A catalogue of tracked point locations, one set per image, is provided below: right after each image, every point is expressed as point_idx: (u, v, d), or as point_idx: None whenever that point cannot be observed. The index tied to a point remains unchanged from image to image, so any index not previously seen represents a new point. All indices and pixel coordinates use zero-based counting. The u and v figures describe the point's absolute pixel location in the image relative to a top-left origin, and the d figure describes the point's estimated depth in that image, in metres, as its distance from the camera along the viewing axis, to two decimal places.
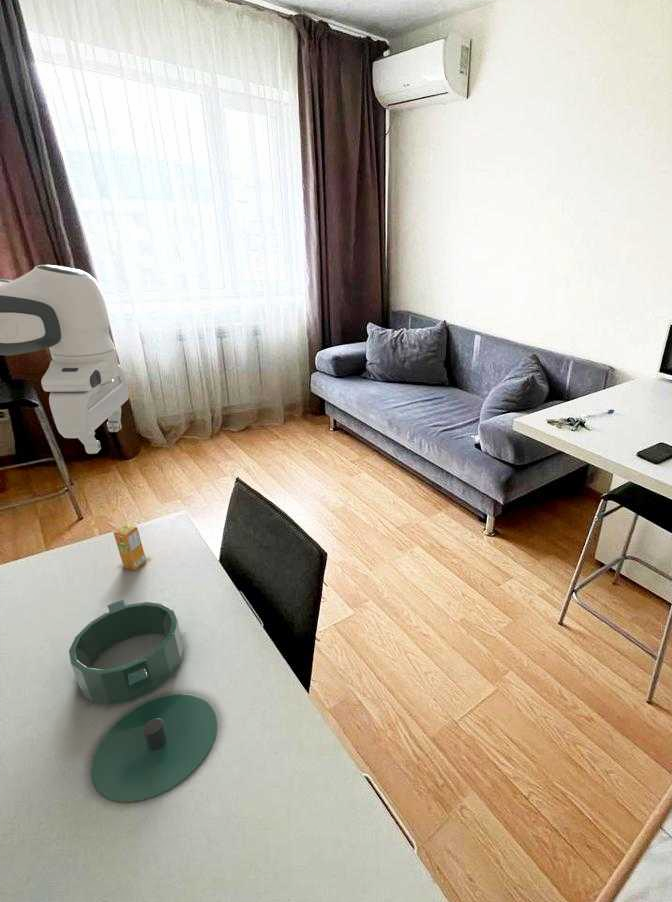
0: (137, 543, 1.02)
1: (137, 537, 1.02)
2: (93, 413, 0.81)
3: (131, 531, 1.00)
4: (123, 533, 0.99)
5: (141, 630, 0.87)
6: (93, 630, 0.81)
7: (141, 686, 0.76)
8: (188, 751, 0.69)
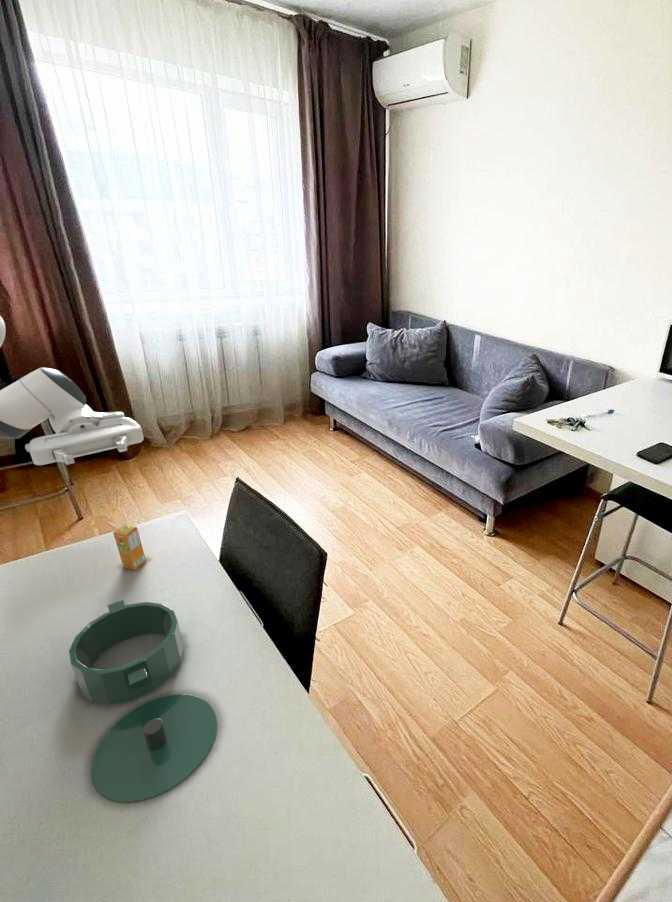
0: (137, 543, 1.02)
1: (137, 537, 1.02)
2: None
3: (130, 531, 1.00)
4: (123, 533, 0.99)
5: (141, 630, 0.87)
6: (93, 630, 0.81)
7: (141, 686, 0.76)
8: (188, 751, 0.69)
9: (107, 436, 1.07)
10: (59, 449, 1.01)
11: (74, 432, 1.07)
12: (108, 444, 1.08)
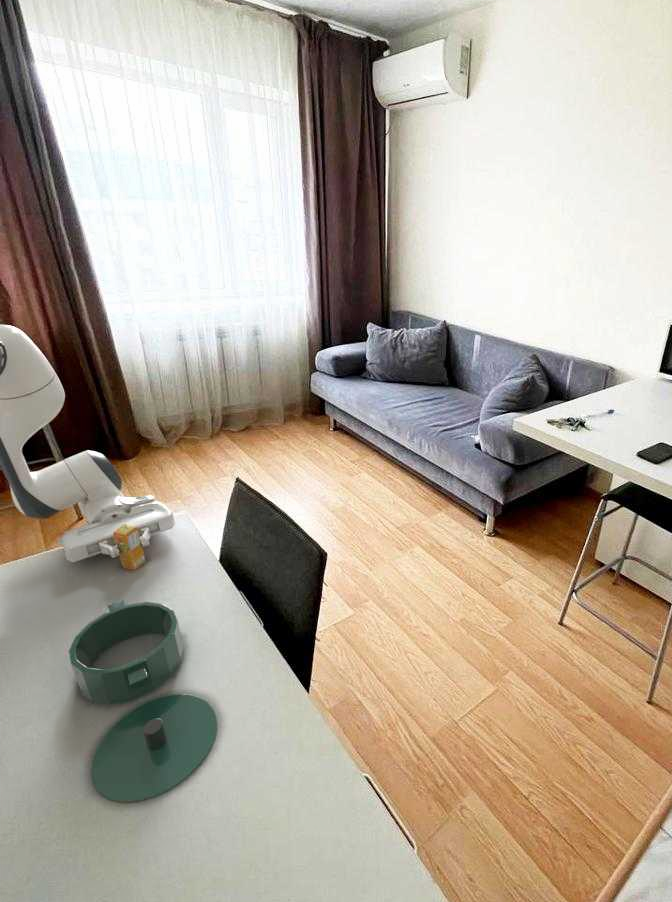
0: (137, 543, 1.02)
1: (137, 537, 1.02)
2: None
3: (130, 531, 1.00)
4: (123, 533, 0.99)
5: (141, 630, 0.87)
6: (93, 630, 0.81)
7: (141, 686, 0.76)
8: (188, 751, 0.69)
9: (140, 526, 1.06)
10: (104, 541, 1.02)
11: (106, 522, 1.06)
12: (140, 533, 1.07)
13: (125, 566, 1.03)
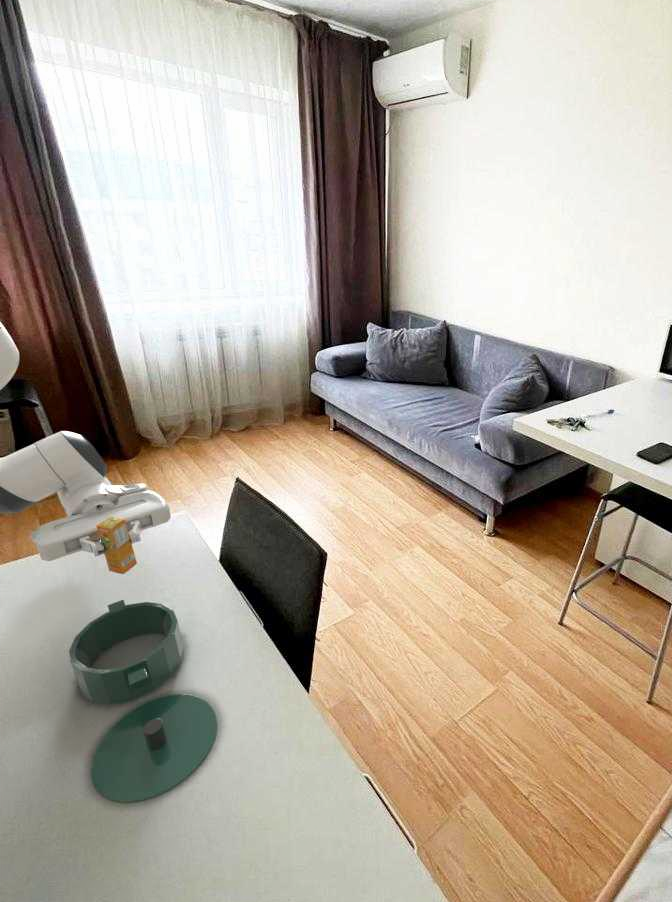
0: (125, 539, 0.85)
1: (125, 531, 0.85)
2: None
3: (117, 524, 0.83)
4: (108, 527, 0.83)
5: (141, 630, 0.87)
6: (93, 630, 0.81)
7: (141, 686, 0.76)
8: (188, 751, 0.69)
9: (129, 519, 0.90)
10: (86, 536, 0.85)
11: (88, 514, 0.90)
12: None
13: (111, 566, 0.86)
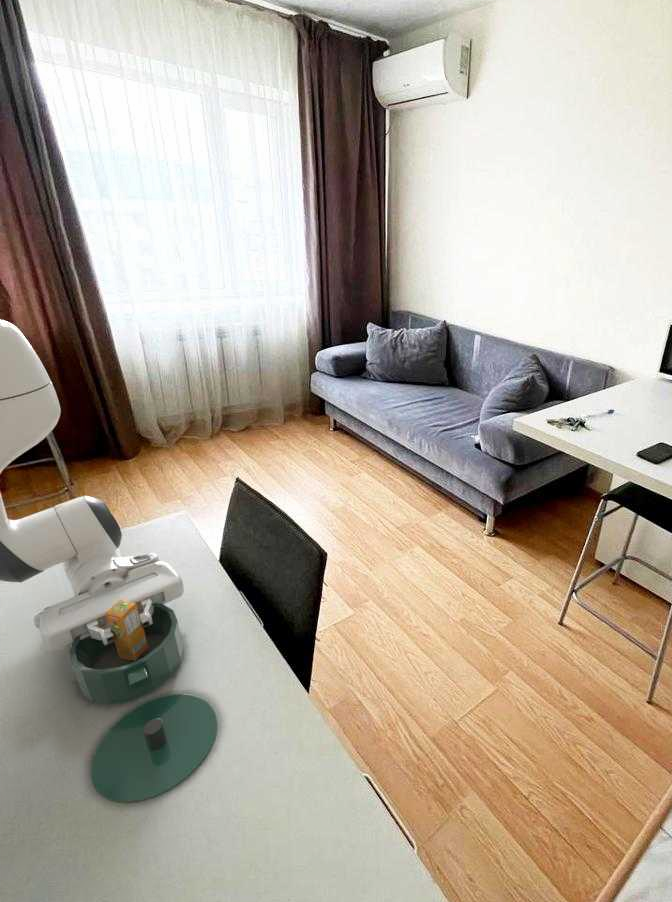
0: (136, 624, 0.79)
1: (137, 616, 0.79)
2: None
3: (128, 611, 0.77)
4: (119, 614, 0.76)
5: None
6: None
7: (141, 686, 0.76)
8: (188, 751, 0.69)
9: (140, 598, 0.83)
10: (94, 621, 0.79)
11: (96, 593, 0.83)
12: (141, 606, 0.84)
13: (121, 653, 0.80)
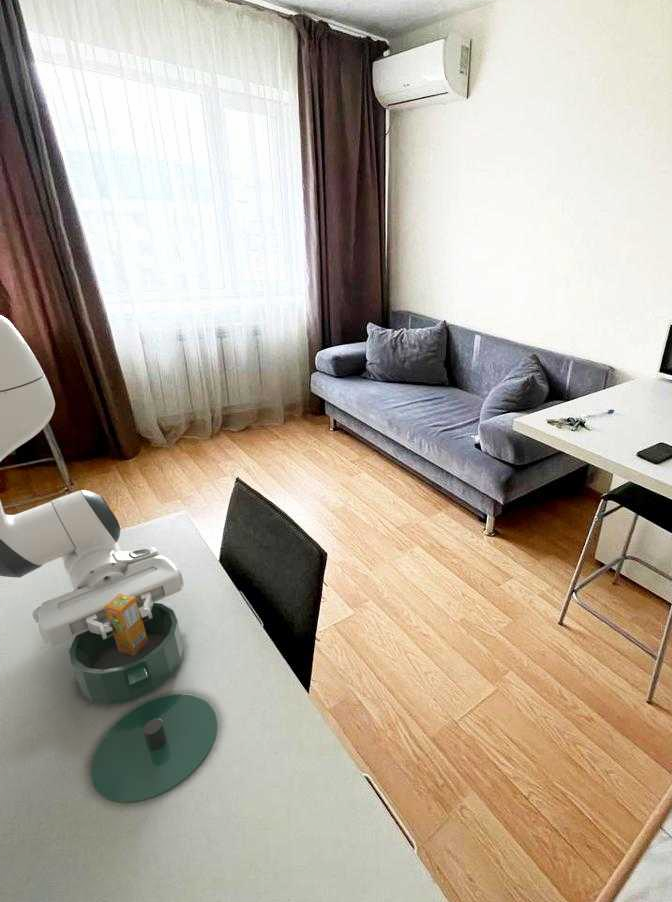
0: (135, 618, 0.78)
1: (136, 610, 0.78)
2: None
3: (127, 604, 0.76)
4: (118, 608, 0.76)
5: None
6: None
7: (141, 686, 0.76)
8: (188, 751, 0.69)
9: (139, 593, 0.83)
10: (93, 615, 0.78)
11: (96, 587, 0.83)
12: (140, 600, 0.84)
13: (121, 647, 0.79)
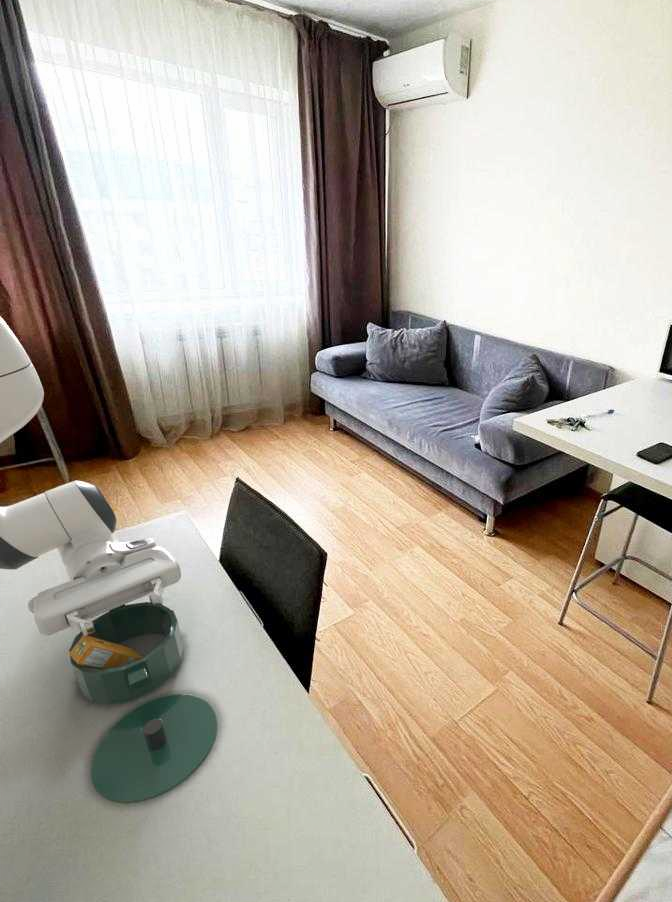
0: (107, 655, 0.76)
1: (102, 651, 0.75)
2: None
3: (84, 654, 0.73)
4: (76, 658, 0.73)
5: (141, 630, 0.87)
6: None
7: (141, 686, 0.76)
8: (188, 751, 0.69)
9: (136, 583, 0.82)
10: (74, 612, 0.76)
11: (92, 577, 0.82)
12: (137, 591, 0.83)
13: None
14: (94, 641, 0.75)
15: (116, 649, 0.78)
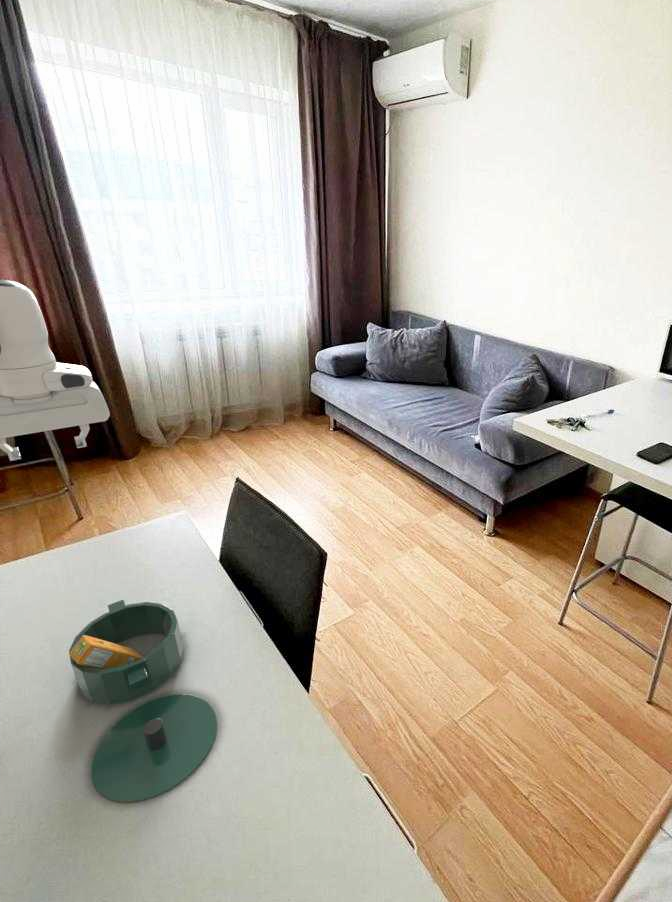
0: (107, 655, 0.76)
1: (102, 651, 0.75)
2: None
3: (84, 654, 0.73)
4: (76, 658, 0.73)
5: (141, 630, 0.87)
6: (93, 630, 0.81)
7: (141, 686, 0.76)
8: (188, 751, 0.69)
9: (65, 427, 0.87)
10: (2, 439, 0.82)
11: None
12: None
13: None
14: (94, 641, 0.75)
15: (116, 649, 0.78)
